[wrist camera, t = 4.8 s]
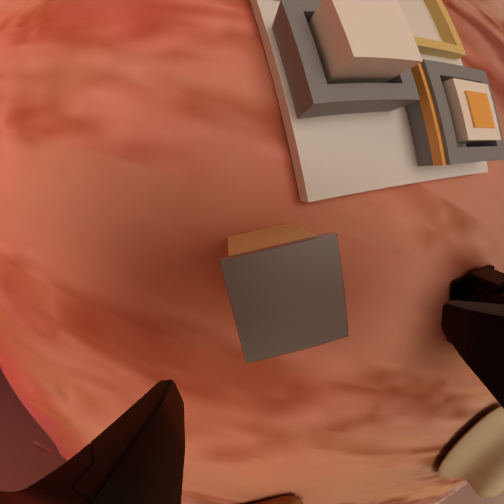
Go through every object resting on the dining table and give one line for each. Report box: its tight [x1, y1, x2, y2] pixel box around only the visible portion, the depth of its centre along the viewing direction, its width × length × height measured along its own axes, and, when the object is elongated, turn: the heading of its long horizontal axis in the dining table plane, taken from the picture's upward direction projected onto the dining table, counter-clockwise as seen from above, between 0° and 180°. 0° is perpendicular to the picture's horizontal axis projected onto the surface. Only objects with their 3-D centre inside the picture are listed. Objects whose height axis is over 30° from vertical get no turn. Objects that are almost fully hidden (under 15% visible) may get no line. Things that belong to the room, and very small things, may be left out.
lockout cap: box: [220, 223, 348, 363], centre depth 16 cm, size 5×5×8 cm
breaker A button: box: [442, 78, 501, 144], centre depth 15 cm, size 4×4×4 cm
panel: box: [250, 0, 504, 202], centre depth 15 cm, size 19×17×6 cm
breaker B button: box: [308, 0, 423, 84], centre depth 11 cm, size 4×4×4 cm
